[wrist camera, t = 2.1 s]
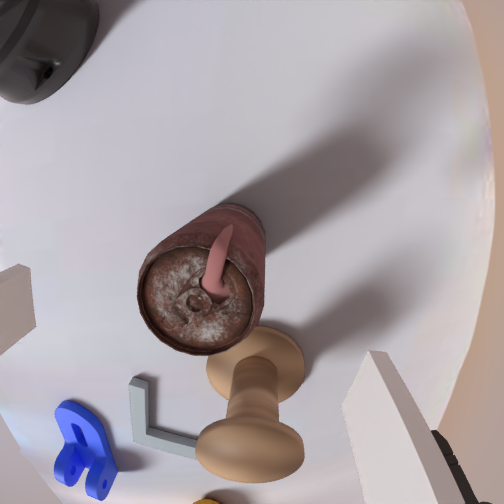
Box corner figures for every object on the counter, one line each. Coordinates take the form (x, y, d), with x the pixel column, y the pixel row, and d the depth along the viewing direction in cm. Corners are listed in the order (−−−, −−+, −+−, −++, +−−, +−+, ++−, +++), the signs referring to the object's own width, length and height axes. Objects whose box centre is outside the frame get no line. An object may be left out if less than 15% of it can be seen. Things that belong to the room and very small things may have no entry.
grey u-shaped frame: (133, 376, 31) (128, 384, 30) (257, 407, 31) (257, 415, 30) (136, 434, 34) (133, 441, 33) (239, 459, 34) (238, 467, 33)
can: (274, 210, 25) (283, 254, 12) (254, 278, 27) (242, 376, 14) (206, 191, 25) (140, 214, 12) (189, 259, 27) (124, 340, 13)
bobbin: (215, 316, 28) (186, 402, 16) (316, 335, 28) (339, 425, 16) (203, 390, 31) (179, 475, 19) (289, 405, 31) (294, 492, 19)
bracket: (118, 471, 39) (102, 506, 30) (79, 455, 39) (62, 487, 30) (100, 411, 34) (74, 453, 25) (55, 392, 34) (26, 428, 25)
